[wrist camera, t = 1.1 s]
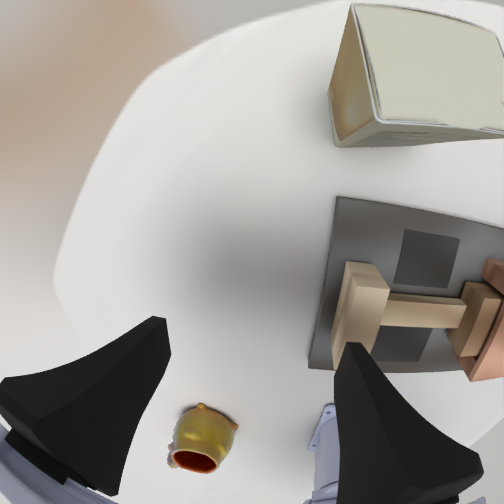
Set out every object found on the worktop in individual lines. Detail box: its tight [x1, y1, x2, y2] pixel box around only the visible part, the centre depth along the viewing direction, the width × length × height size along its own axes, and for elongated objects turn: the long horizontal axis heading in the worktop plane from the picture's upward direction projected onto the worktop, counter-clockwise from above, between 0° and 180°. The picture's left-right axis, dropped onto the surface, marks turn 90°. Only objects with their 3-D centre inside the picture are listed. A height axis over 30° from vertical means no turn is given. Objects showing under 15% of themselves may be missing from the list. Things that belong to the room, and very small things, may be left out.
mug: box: [167, 403, 238, 474], centre depth 26 cm, size 12×7×7 cm, turn 138°
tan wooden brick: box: [330, 261, 504, 370], centre depth 15 cm, size 6×20×4 cm, turn 86°
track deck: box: [308, 196, 504, 382], centre depth 16 cm, size 14×32×6 cm, turn 86°
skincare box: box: [328, 3, 504, 147], centre depth 11 cm, size 6×4×12 cm
